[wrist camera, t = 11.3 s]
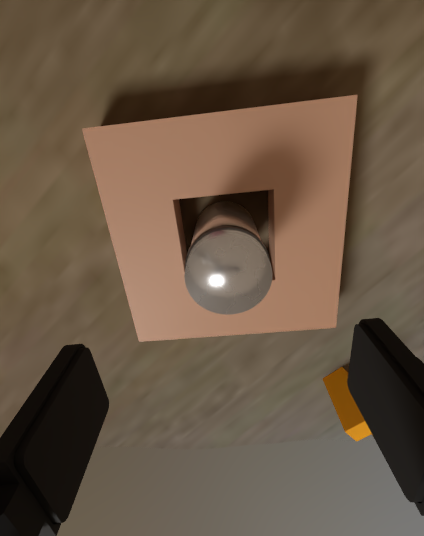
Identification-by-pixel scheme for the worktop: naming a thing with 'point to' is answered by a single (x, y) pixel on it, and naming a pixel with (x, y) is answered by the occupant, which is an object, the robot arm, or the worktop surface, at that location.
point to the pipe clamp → (346, 405)
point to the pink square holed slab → (228, 182)
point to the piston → (227, 261)
